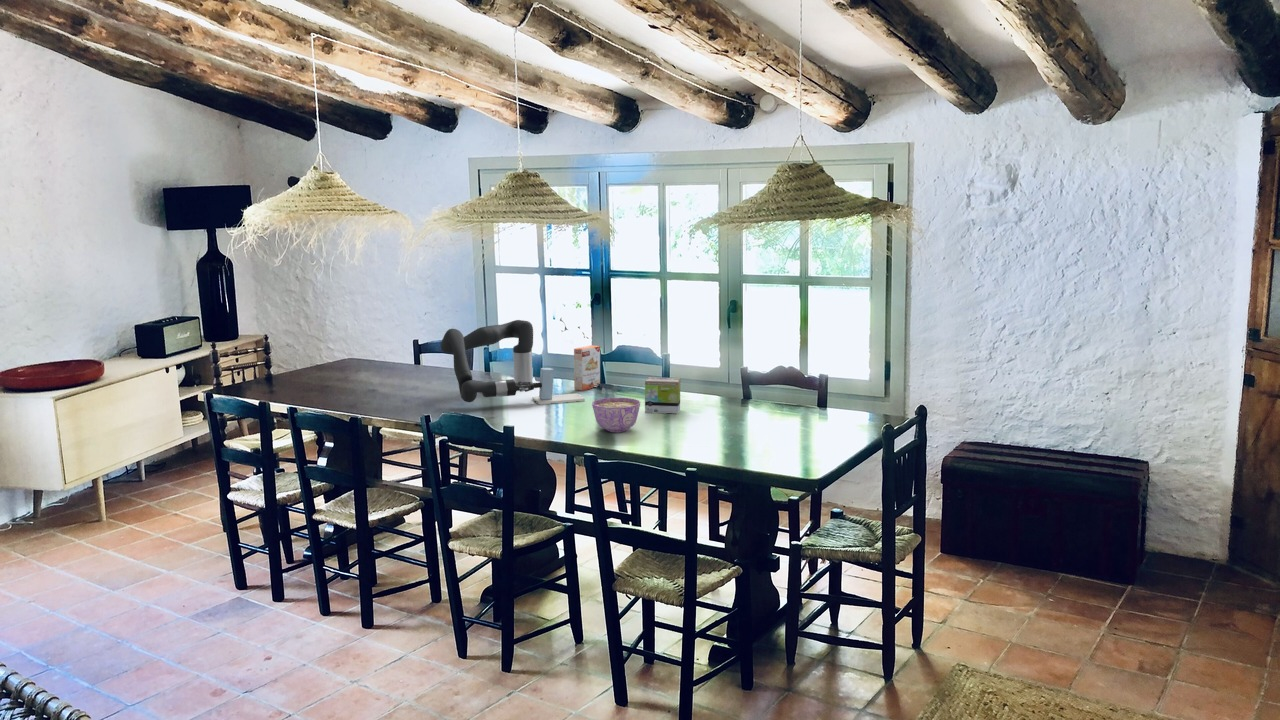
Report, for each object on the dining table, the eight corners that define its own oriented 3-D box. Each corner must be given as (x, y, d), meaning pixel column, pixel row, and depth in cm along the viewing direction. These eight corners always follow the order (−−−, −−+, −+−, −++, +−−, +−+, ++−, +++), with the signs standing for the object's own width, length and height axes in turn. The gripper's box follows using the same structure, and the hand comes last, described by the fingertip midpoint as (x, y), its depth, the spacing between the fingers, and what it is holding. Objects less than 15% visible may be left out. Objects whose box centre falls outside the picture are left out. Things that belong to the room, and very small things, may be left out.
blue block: (539, 397, 465) (540, 367, 463) (549, 397, 467) (551, 368, 465) (541, 399, 460) (543, 369, 458) (552, 399, 462) (553, 369, 460)
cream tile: (532, 399, 468) (532, 396, 468) (577, 395, 475) (576, 393, 475) (538, 404, 456) (538, 402, 456) (584, 401, 463) (584, 398, 463)
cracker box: (583, 391, 486) (582, 349, 482) (573, 390, 489) (572, 348, 486) (601, 386, 497) (600, 345, 493) (592, 385, 500) (591, 344, 497)
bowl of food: (636, 436, 395) (636, 408, 393) (587, 435, 399) (587, 407, 397) (644, 425, 415) (644, 398, 413) (597, 423, 418) (597, 396, 416)
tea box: (644, 413, 436) (644, 380, 434) (647, 408, 446) (647, 376, 443) (678, 414, 434) (678, 381, 431) (680, 409, 444) (680, 377, 441)
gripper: (502, 393, 462) (538, 390, 468) (508, 398, 450) (545, 395, 455) (501, 377, 461) (537, 374, 466) (507, 382, 448) (544, 379, 454)
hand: (541, 384), depth 461 cm, fingers closed
